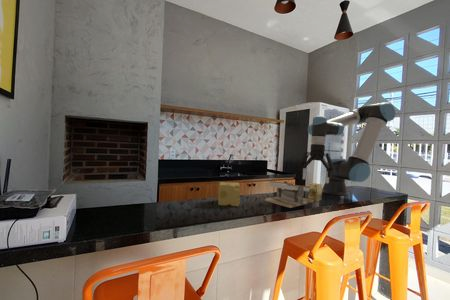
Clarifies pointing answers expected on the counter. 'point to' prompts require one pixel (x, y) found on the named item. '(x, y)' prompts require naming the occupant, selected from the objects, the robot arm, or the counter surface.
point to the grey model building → (288, 186)
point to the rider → (315, 192)
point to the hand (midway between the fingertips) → (315, 181)
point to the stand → (289, 198)
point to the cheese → (228, 193)
